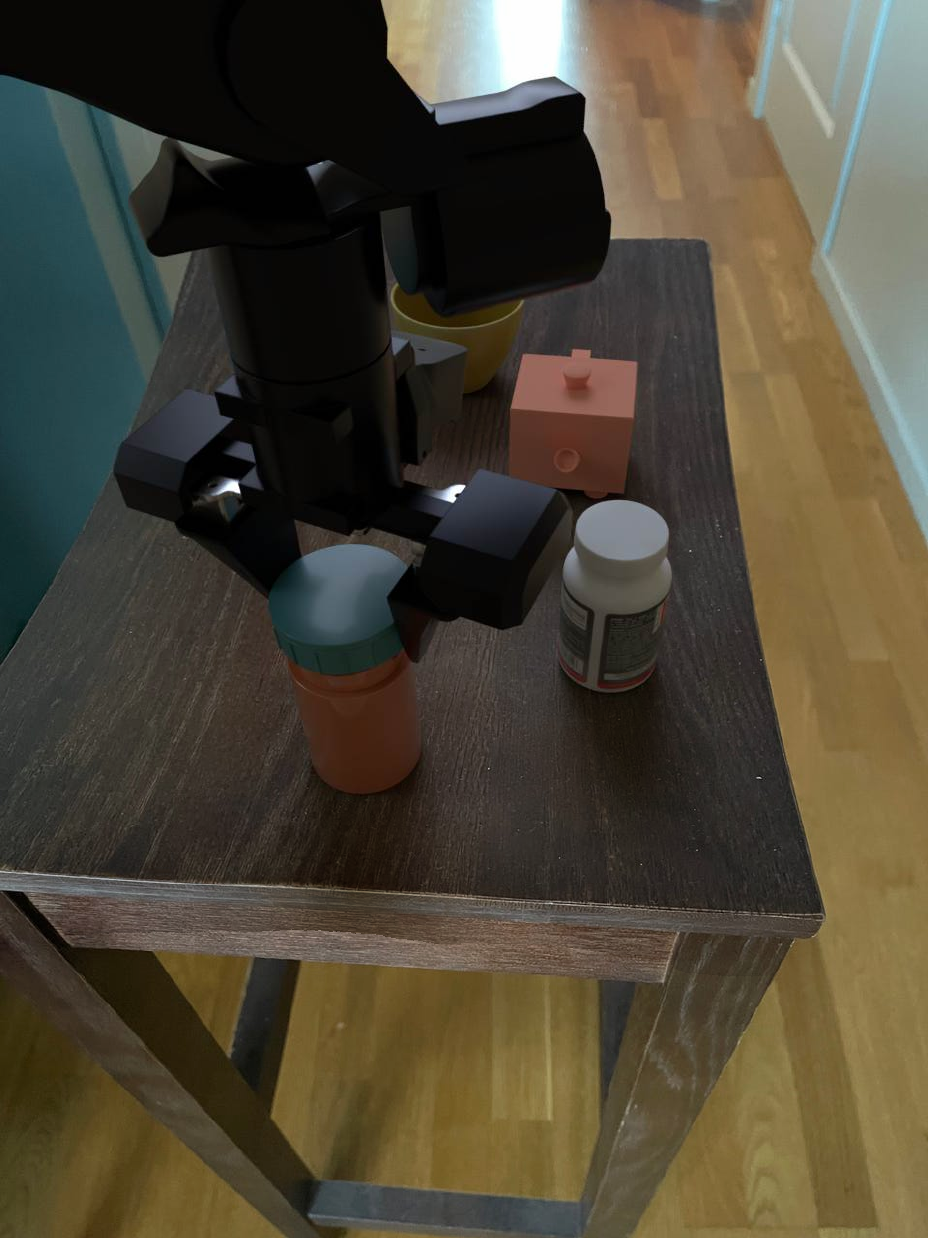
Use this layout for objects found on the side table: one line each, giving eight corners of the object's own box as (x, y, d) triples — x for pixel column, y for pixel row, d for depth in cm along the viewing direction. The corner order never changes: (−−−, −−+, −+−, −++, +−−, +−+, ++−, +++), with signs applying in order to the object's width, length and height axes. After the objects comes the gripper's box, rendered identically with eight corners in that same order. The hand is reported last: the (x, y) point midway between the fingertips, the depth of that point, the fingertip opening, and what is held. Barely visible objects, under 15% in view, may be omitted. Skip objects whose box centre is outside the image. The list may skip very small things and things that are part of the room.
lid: (328, 700, 39) (320, 671, 38) (250, 620, 43) (240, 591, 41) (447, 622, 42) (444, 592, 40) (364, 553, 45) (358, 524, 44)
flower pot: (542, 396, 71) (546, 311, 66) (420, 425, 69) (414, 339, 64) (495, 334, 78) (496, 252, 73) (382, 358, 76) (374, 275, 71)
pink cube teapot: (502, 526, 61) (503, 422, 55) (523, 421, 69) (526, 321, 63) (619, 537, 60) (634, 433, 54) (627, 430, 68) (641, 328, 62)
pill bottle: (664, 634, 54) (690, 505, 47) (645, 707, 51) (670, 579, 43) (570, 613, 56) (581, 484, 48) (544, 682, 52) (553, 554, 45)
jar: (347, 815, 46) (321, 698, 39) (290, 737, 50) (257, 617, 43) (443, 756, 49) (435, 636, 42) (383, 685, 52) (366, 563, 45)
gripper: (635, 286, 34) (600, 581, 46) (226, 207, 40) (285, 487, 52) (520, 452, 28) (512, 750, 39) (47, 328, 33) (161, 619, 45)
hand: (358, 634), depth 44 cm, fingers closed on lid, 6 cm apart
